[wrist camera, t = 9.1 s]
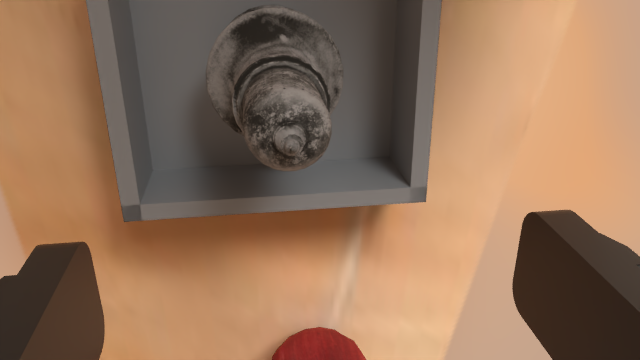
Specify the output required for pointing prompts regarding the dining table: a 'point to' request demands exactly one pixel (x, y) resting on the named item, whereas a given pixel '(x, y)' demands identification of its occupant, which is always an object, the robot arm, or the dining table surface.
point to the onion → (318, 346)
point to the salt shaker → (276, 84)
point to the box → (230, 147)
